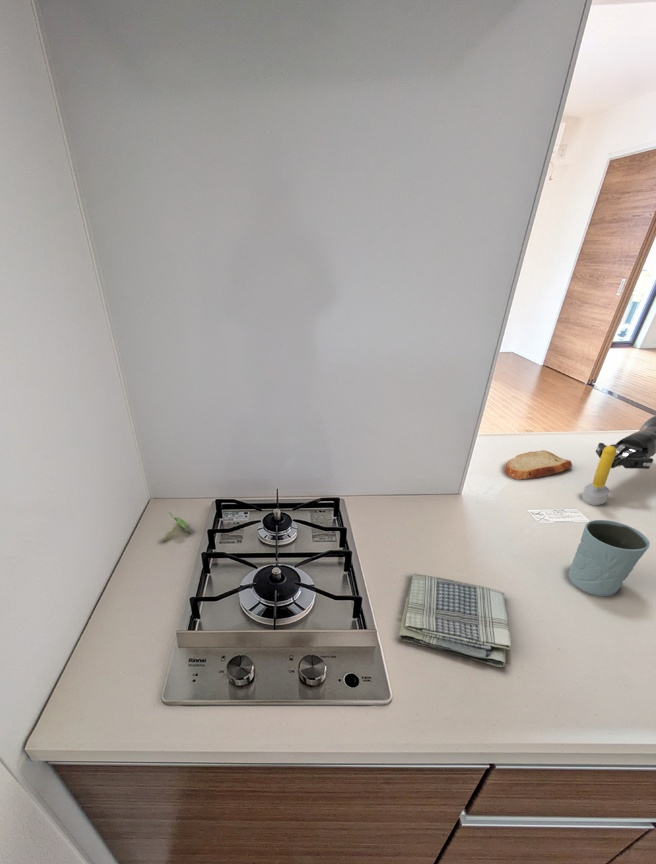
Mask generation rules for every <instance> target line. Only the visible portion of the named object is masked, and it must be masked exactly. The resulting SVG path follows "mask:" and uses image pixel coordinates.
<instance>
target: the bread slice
mask: <svg viewBox="0 0 656 864" xmlns="http://www.w3.org/2000/svg"><path fill="white" fill-rule="evenodd" d="M571 467H573V463H572V461H571V460H570V459H564V458H562V457H560V456H558V455H556V454H554V453H552V452H551V451H548V450H536V451H528V452H524V453H519V454H517V455H516V456H515V457H513V458H512V459H510V460H508V461H507V463H506V464H505V466H504V472H505V474H506V475H507V476H508V477H509V478H511V479H514V480H519V481H520V480H527V479H528V480H532V479H537V478H541V477H547V476H549V475H550V476H551V475H554V474H560V473H561V472H563V471H566V470H568V469H570V468H571Z"/></svg>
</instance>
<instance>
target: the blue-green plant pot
mask: <svg viewBox="0 0 656 864" xmlns="http://www.w3.org/2000/svg"><path fill="white" fill-rule="evenodd" d="M649 548H650V540H649V538H647V536H646V535H645V534H643V533H642V532H640V531H639V530H637V529H636V528H634V527H631V526H629V525H627V524H625V523H622V522H618V521H614V520H607V519H595V520H591V521H590V520H589V521H588V522H587V523H586V524H585V525H584V529H583V532H582V534H581V538H580V542H579V543H578V546H577V548H576V552H575V554H574V557H573V559H572V563H571V565H570V567H569V570H568V579H569V581H570V582H571V583H572V585H574V586H575V587H576V588H578V589H580V590H581V591H584V593H585V592H586V593H588V594H590V595H593V596H600V597H610V596H613V595H615V594H616V593H617V592H618V591H619V589H620V588H621V587H622V585H623V582H624V581H626V579H627V578H628V577H629V576H630V574H631V572H633V570H634V568H635V567H636V565H637V564H638V562H639V560H640V559H641V558H642V557H643V556H644V554H645V553H646V552H647V550H648V549H649Z"/></svg>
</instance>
